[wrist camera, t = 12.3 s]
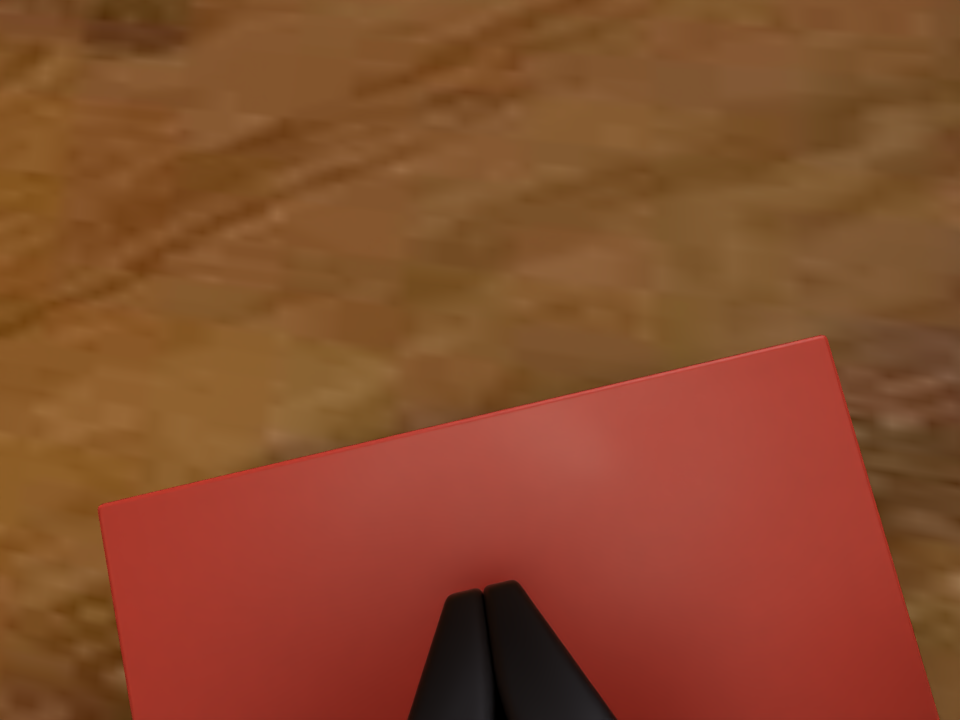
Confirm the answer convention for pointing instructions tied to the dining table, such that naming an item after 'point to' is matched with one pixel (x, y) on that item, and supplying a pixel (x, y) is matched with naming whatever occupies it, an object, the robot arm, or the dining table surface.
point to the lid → (539, 558)
